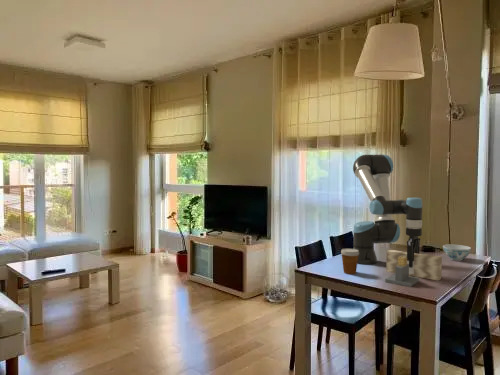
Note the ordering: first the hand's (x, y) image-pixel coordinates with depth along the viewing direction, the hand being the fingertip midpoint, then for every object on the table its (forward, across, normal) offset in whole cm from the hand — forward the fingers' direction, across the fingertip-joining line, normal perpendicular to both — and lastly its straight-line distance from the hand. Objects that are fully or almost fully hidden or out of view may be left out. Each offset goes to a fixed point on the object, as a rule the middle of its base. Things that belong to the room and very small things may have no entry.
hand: (413, 272), depth 202 cm
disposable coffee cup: (+2, -17, +27) cm, 32 cm away
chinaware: (+1, +51, -9) cm, 52 cm away
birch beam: (+1, 0, 0) cm, 1 cm away
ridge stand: (+1, -16, 0) cm, 16 cm away
